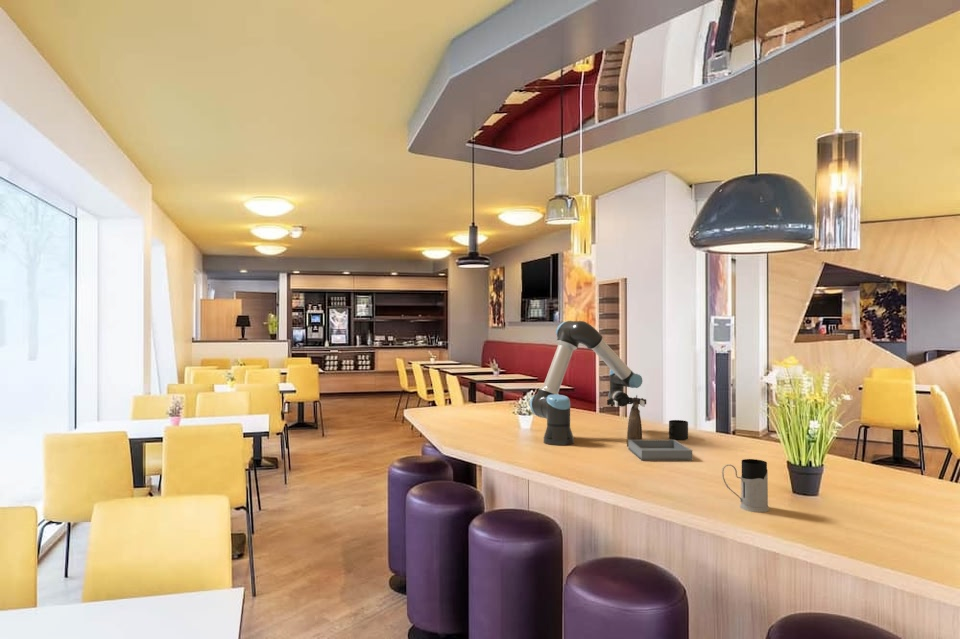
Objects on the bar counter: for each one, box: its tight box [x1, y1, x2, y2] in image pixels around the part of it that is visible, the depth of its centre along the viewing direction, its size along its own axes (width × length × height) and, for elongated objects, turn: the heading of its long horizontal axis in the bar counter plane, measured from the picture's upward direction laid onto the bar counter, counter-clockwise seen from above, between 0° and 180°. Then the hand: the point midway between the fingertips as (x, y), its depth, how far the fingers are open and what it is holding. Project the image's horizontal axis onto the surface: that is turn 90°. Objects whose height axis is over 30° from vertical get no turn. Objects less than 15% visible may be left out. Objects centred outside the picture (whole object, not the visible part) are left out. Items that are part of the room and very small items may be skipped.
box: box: [628, 439, 693, 462], centre depth 275 cm, size 22×24×4 cm
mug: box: [668, 419, 689, 442], centre depth 312 cm, size 9×12×9 cm
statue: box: [626, 394, 643, 447], centre depth 295 cm, size 9×8×25 cm
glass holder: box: [721, 458, 770, 513], centre depth 196 cm, size 9×14×15 cm, turn 80°
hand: (630, 404), depth 305 cm, fingers open, 13 cm apart
